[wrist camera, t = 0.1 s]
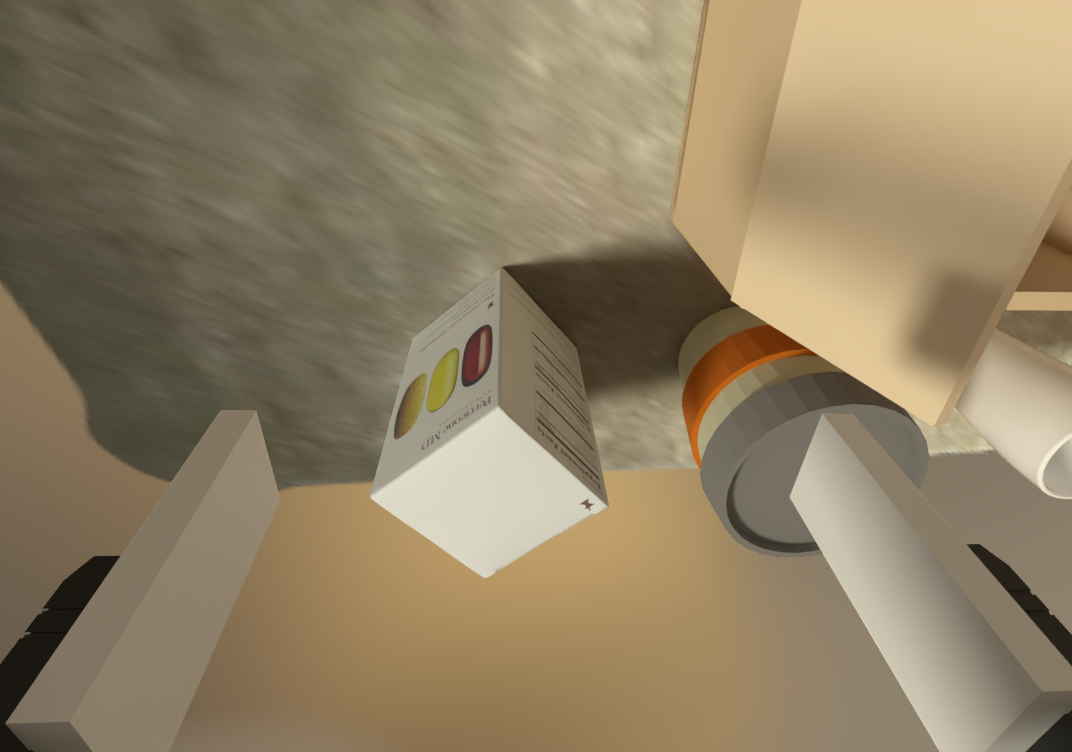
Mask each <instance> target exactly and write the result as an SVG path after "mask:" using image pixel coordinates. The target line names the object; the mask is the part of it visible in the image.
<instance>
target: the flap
mask: <svg viewBox="0 0 1072 752" xmlns="http://www.w3.org/2000/svg"><path fill="white" fill-rule="evenodd" d="M1071 185H1072V0H802V2H801V6H800V10H799V14H798V19H797V23H796V27H795V31H794V36H793V40H792V44H791V48H790V52H789V57H788V61H787V65H786V69H785V73H784V78H783V82H782V86H781V90H780V95H779V99H778V103H777V107H776V111H775V116H774V120H773V124H772V128H771V132H770V137H769V141H768V145H767V149H766V154H765V158H764V162H763V166H762V170H761V175H760V179H759V183H758V187H757V191H756V196H755V200H754V204H753V208H752V212H751V217H750V221H749V225H748V229H747V234H746V238H745V242H744V246H743V250H742V255H741V259H740V263H739V267H738V271H737V276H736V280H735V284H734V288H733V293H732V297H731V301H733V302H734V303H736V304H738V305H739V306H741V307H742V308H744V309H746V310H747V311H749V312H750V313H752V314H754V315H755V316H757V317H758V318H760V319H762V320H763V321H765V322H766V323H768V324H770V325H771V326H773V327H774V328H776V329H778V330H779V331H781V332H782V333H784V334H786V335H787V336H789V337H790V338H792V339H794V340H795V341H797V342H798V343H800V344H802V345H803V346H805V347H806V348H808V349H810V350H811V351H813V352H814V353H816V354H818V355H819V356H821V357H822V358H824V359H826V360H827V361H829V362H830V363H832V364H834V365H835V366H837V367H838V368H840V369H842V370H843V371H845V372H846V373H848V374H850V375H851V376H853V377H854V378H856V379H858V380H859V381H861V382H862V383H864V384H866V385H867V386H869V387H870V388H872V389H874V390H875V391H877V392H878V393H880V394H882V395H883V396H885V397H886V398H888V399H890V400H891V401H893V402H894V403H896V404H898V405H899V406H901V407H902V408H904V409H906V410H907V411H909V412H910V413H912V414H914V415H915V416H917V417H918V418H920V419H922V420H923V421H925V422H926V423H928V424H930V425H931V426H933V427H935V426H938V425H941V424H944V423H946V422H947V420H948V418H949V416H950V415H951V413H952V411H953V409H954V407H955V405H956V403H957V401H958V399H959V397H960V396H961V394H962V392H963V390H964V388H965V386H966V384H967V382H968V380H969V378H970V377H971V375H972V373H973V371H974V369H975V367H976V365H977V363H978V361H979V359H980V358H981V356H982V354H983V352H984V350H985V348H986V346H987V344H988V342H989V340H990V339H991V337H992V335H993V333H994V331H995V329H996V327H997V325H998V323H999V321H1000V320H1001V318H1002V316H1003V314H1004V312H1005V310H1006V308H1007V306H1008V304H1009V302H1010V301H1011V299H1012V297H1013V295H1014V293H1015V291H1016V289H1017V287H1018V285H1019V283H1020V282H1021V280H1022V278H1023V276H1024V274H1025V272H1026V270H1027V268H1028V266H1029V264H1030V263H1031V261H1032V259H1033V257H1034V255H1035V253H1036V251H1037V249H1038V247H1039V245H1040V244H1041V242H1042V240H1043V238H1044V236H1045V234H1046V232H1047V230H1048V228H1049V226H1050V225H1051V223H1052V221H1053V219H1054V217H1055V215H1056V213H1057V211H1058V209H1059V207H1060V206H1061V204H1062V202H1063V200H1064V198H1065V196H1066V194H1067V192H1068V190H1069V188H1070V187H1071Z"/></svg>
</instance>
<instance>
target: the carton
mask: <svg viewBox="0 0 1072 752" xmlns="http://www.w3.org/2000/svg"><path fill="white" fill-rule="evenodd" d="M801 2H802V0H704V5H703V11H702V18H701V24H700V30H699V36H698V43H697V49H696V55H695V61H694V68H693V74H692V80H691V86H690V93H689V99H688V105H687V111H686V117H685V124H684V130H683V136H682V142H681V149H680V155H679V161H678V167H677V174H676V180H675V186H674V192H673V198H672V205H671V211H670V217H669V219H670V220H671V221H672V222H673V224H674V225H675V226H676V227H677V229H678V230H679V231H680V232H681V234H682V235H683V236H684V237H685V239H686V240H687V241H688V242H689V244H690V245H691V246H692V247H693V249H694V250H695V251H696V252H697V254H698V255H699V256H700V257H701V259H702V260H703V261H704V262H705V264H706V265H707V266H708V267H709V269H710V270H711V271H712V272H713V274H714V275H715V276H716V277H717V279H718V280H719V281H720V282H721V284H722V285H723V286H724V287H725V289H726V290H727V291H728V292H729V294H730V295H731V296H732V293H733V288H734V284H735V280H736V276H737V271H738V267H739V263H740V259H741V255H742V250H743V246H744V242H745V238H746V234H747V229H748V225H749V221H750V217H751V212H752V208H753V204H754V200H755V196H756V191H757V187H758V183H759V179H760V175H761V170H762V166H763V162H764V158H765V154H766V149H767V145H768V141H769V137H770V132H771V128H772V124H773V120H774V116H775V111H776V107H777V103H778V99H779V95H780V90H781V86H782V82H783V78H784V73H785V69H786V65H787V61H788V57H789V52H790V48H791V44H792V40H793V36H794V31H795V27H796V23H797V19H798V14H799V10H800V6H801ZM740 308H741V309H744V308H742V307H741V306H740ZM1006 310H1051V311H1072V185H1071V187H1070V188H1069V190H1068V192H1067V194H1066V196H1065V198H1064V200H1063V202H1062V204H1061V206H1060V207H1059V209H1058V211H1057V213H1056V215H1055V217H1054V219H1053V221H1052V223H1051V225H1050V226H1049V228H1048V230H1047V232H1046V234H1045V236H1044V238H1043V240H1042V242H1041V244H1040V245H1039V247H1038V249H1037V251H1036V253H1035V255H1034V257H1033V259H1032V261H1031V263H1030V264H1029V266H1028V268H1027V270H1026V272H1025V274H1024V276H1023V278H1022V280H1021V282H1020V283H1019V285H1018V287H1017V289H1016V291H1015V293H1014V295H1013V297H1012V299H1011V301H1010V302H1009V304H1008V306H1007V308H1006Z"/></svg>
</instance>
